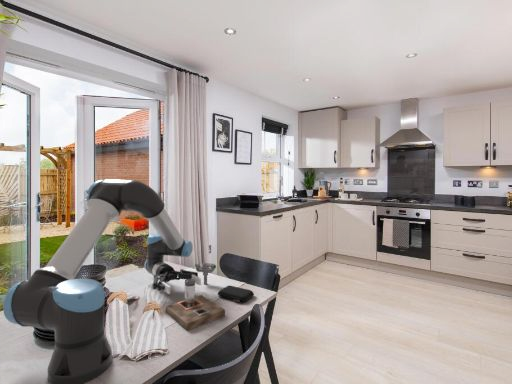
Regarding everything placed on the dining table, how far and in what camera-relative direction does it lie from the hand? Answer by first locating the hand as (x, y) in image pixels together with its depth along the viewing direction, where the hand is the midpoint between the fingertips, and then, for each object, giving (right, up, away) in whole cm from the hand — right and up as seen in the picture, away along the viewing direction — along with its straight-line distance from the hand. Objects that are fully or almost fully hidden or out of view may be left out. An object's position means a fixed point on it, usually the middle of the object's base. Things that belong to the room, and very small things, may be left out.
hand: (185, 285), depth 116 cm
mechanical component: (+4, -7, +24) cm, 25 cm away
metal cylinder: (+3, -9, -3) cm, 10 cm away
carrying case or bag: (+20, -9, +10) cm, 23 cm away
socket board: (+5, -9, -7) cm, 12 cm away
